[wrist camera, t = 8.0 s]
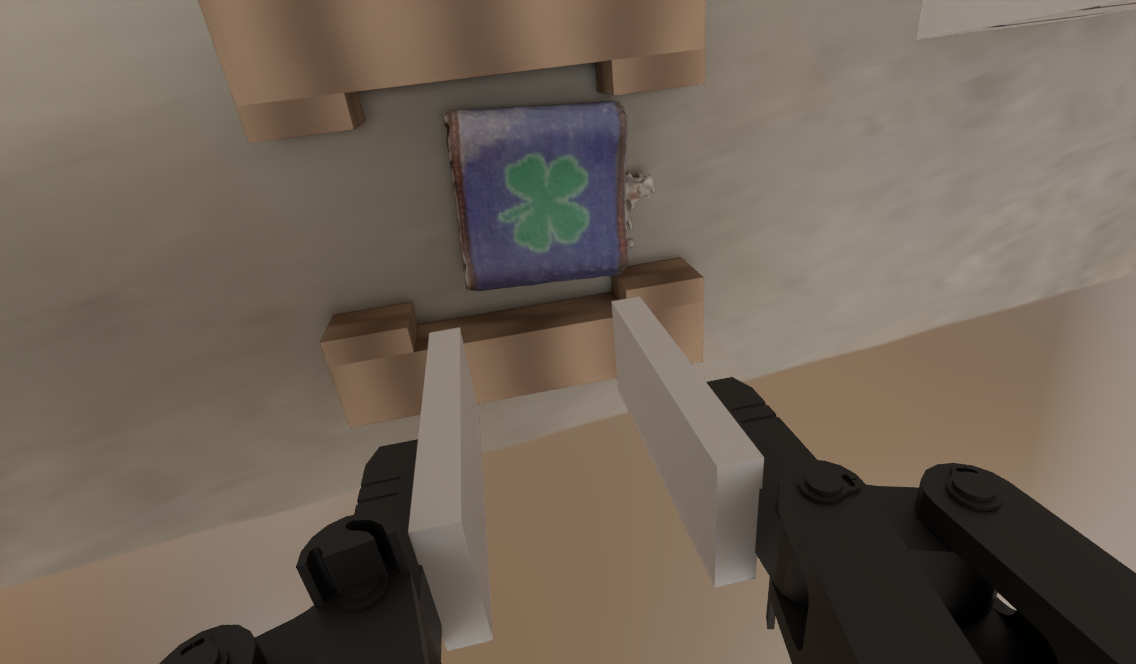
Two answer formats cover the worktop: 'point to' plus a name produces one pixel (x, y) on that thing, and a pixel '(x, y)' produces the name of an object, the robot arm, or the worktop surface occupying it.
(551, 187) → the flask
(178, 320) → the worktop surface
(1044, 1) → the grater
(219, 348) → the worktop surface
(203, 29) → the worktop surface
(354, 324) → the holder
